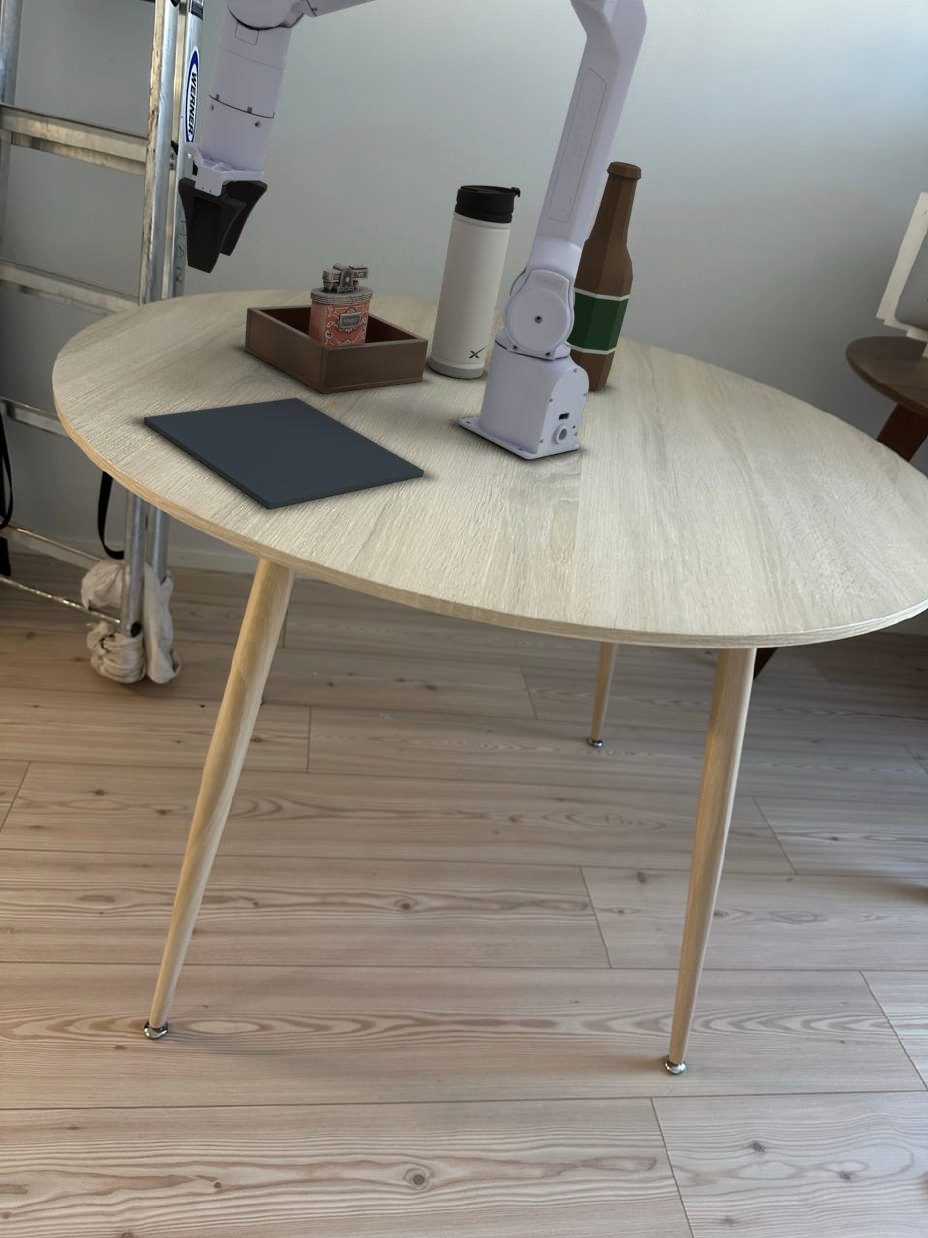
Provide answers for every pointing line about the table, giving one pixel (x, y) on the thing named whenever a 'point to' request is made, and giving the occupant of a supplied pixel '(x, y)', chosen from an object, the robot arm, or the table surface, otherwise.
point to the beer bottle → (604, 278)
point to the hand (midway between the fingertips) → (210, 260)
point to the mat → (283, 450)
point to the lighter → (340, 306)
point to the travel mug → (471, 279)
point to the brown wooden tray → (334, 351)
